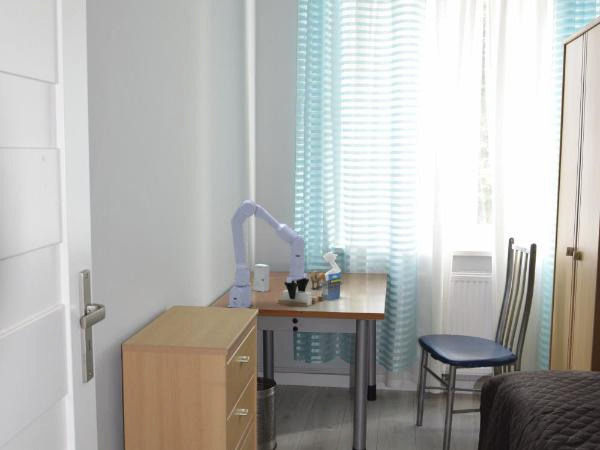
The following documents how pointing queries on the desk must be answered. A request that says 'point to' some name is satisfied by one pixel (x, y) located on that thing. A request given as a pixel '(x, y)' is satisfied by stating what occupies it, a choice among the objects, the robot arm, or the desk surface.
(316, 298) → the terracotta strip
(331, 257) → the voxel character
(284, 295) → the strip
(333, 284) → the label tape box
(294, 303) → the walnut drying rack
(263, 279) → the skincare box
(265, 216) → the robot arm
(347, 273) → the desk surface
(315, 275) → the lion figurine
